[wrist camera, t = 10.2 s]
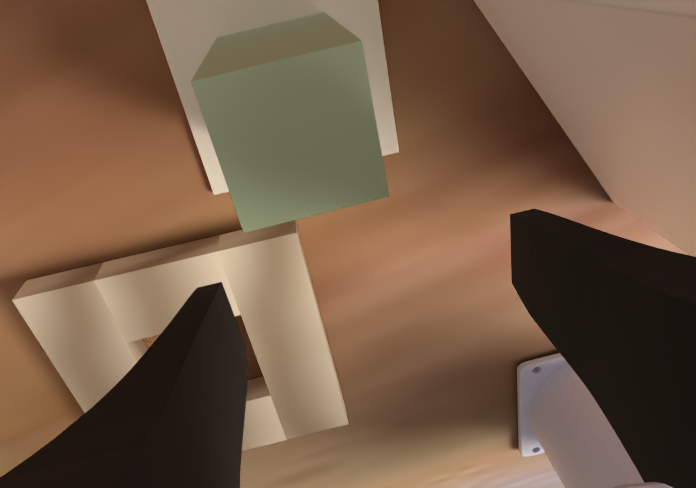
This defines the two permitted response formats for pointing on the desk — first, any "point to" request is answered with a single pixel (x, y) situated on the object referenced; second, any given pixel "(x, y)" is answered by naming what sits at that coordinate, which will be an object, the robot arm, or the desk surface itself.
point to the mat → (252, 12)
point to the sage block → (291, 120)
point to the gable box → (618, 95)
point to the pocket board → (167, 299)
